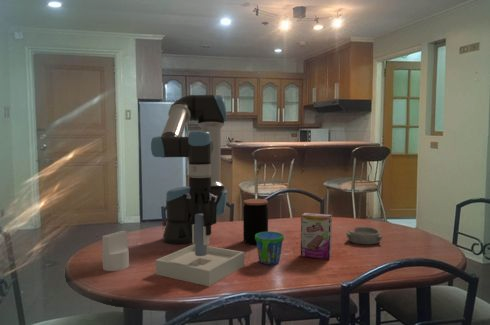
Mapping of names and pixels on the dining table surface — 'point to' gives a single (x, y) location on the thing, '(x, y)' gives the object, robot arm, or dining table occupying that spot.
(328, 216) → the candy bar box
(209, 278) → the beige square tray
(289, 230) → the dining table surface
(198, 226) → the peg
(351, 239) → the dish
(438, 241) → the dining table surface
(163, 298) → the dining table surface
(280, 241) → the snack cup
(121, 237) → the white stepped block
